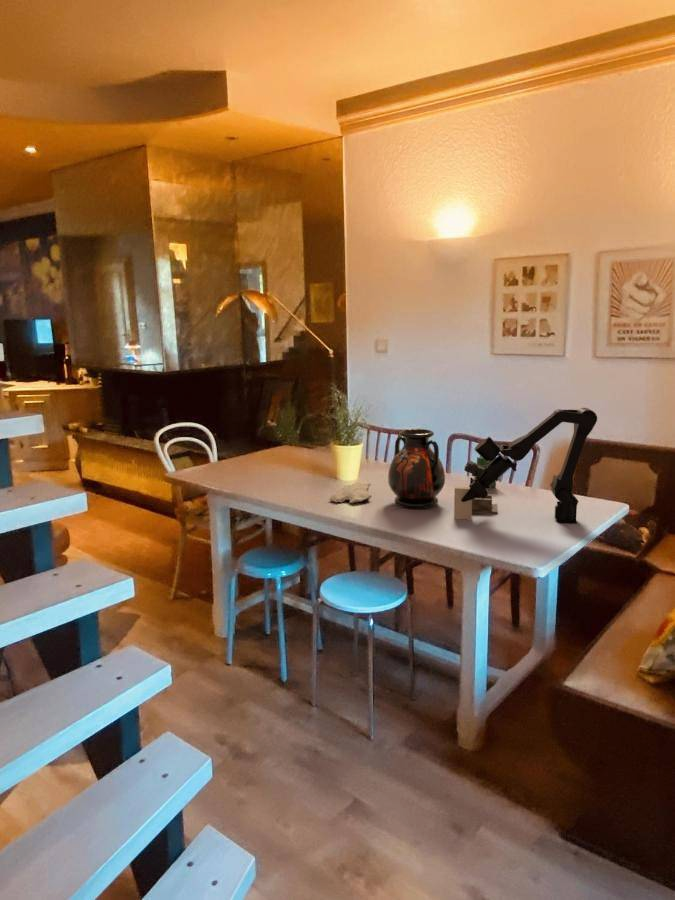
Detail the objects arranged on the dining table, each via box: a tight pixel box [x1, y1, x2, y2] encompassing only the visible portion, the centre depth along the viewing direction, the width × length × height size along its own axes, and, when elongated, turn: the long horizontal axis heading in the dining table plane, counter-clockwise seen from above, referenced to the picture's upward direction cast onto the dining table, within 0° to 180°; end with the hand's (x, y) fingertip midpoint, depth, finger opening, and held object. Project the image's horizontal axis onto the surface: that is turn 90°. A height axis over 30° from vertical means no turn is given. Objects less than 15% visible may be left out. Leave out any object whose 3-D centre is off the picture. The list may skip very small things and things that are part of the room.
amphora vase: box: [387, 428, 446, 510], centre depth 251 cm, size 22×22×28 cm
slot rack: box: [472, 494, 498, 515], centre depth 245 cm, size 14×10×5 cm
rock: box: [328, 480, 372, 504], centre depth 263 cm, size 21×5×15 cm
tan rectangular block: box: [453, 485, 473, 520], centre depth 235 cm, size 6×3×11 cm, turn 78°
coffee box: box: [476, 456, 498, 489], centre depth 273 cm, size 8×3×13 cm, turn 106°
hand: (462, 499), depth 235 cm, fingers open, 4 cm apart
